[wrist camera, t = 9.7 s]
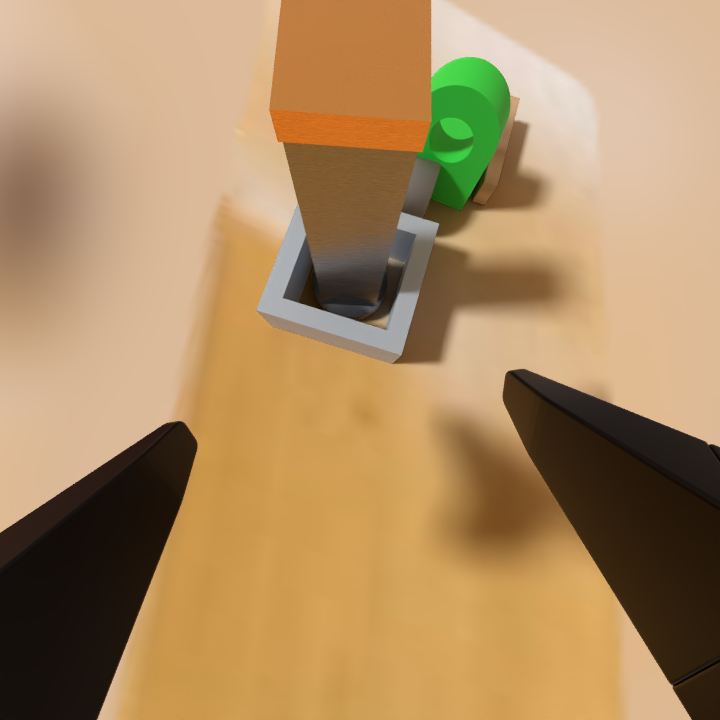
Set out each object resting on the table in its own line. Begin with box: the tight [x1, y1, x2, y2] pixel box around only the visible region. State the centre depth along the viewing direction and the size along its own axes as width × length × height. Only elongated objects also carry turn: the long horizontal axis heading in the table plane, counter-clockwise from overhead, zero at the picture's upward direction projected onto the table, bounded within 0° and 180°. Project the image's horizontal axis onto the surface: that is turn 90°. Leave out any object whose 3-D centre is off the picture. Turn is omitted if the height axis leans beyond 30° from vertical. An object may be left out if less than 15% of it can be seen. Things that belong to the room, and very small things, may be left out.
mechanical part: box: [417, 57, 511, 211], centre depth 19 cm, size 12×6×8 cm, turn 67°
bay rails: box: [473, 96, 520, 205], centre depth 22 cm, size 8×16×2 cm, turn 73°
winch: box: [257, 156, 441, 364], centre depth 19 cm, size 14×9×4 cm, turn 163°
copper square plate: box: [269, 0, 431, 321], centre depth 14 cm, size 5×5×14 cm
